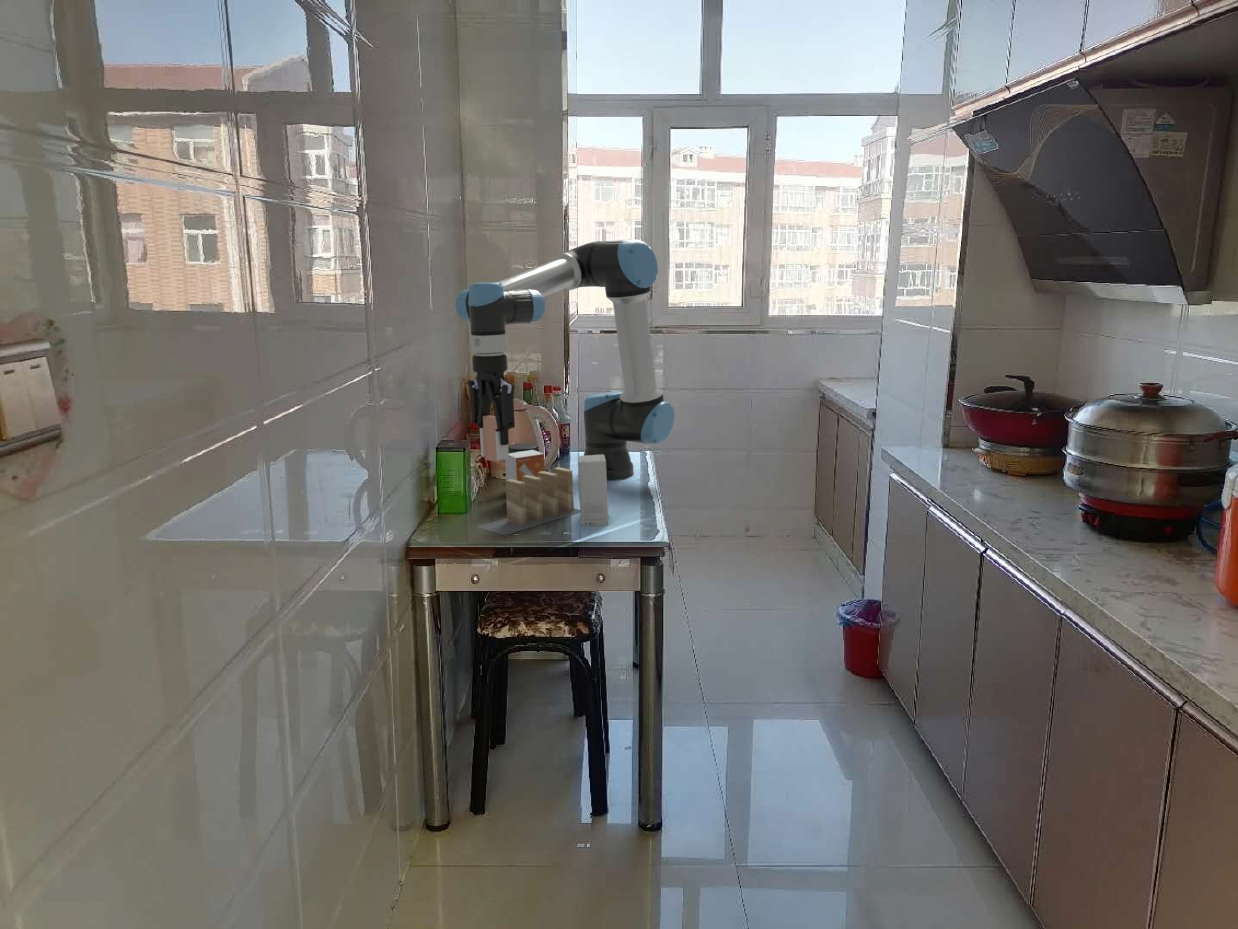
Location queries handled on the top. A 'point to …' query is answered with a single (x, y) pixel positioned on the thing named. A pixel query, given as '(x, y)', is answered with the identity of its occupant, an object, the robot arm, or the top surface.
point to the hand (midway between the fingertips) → (494, 457)
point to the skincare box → (593, 490)
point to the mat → (507, 527)
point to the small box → (524, 464)
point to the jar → (522, 447)
